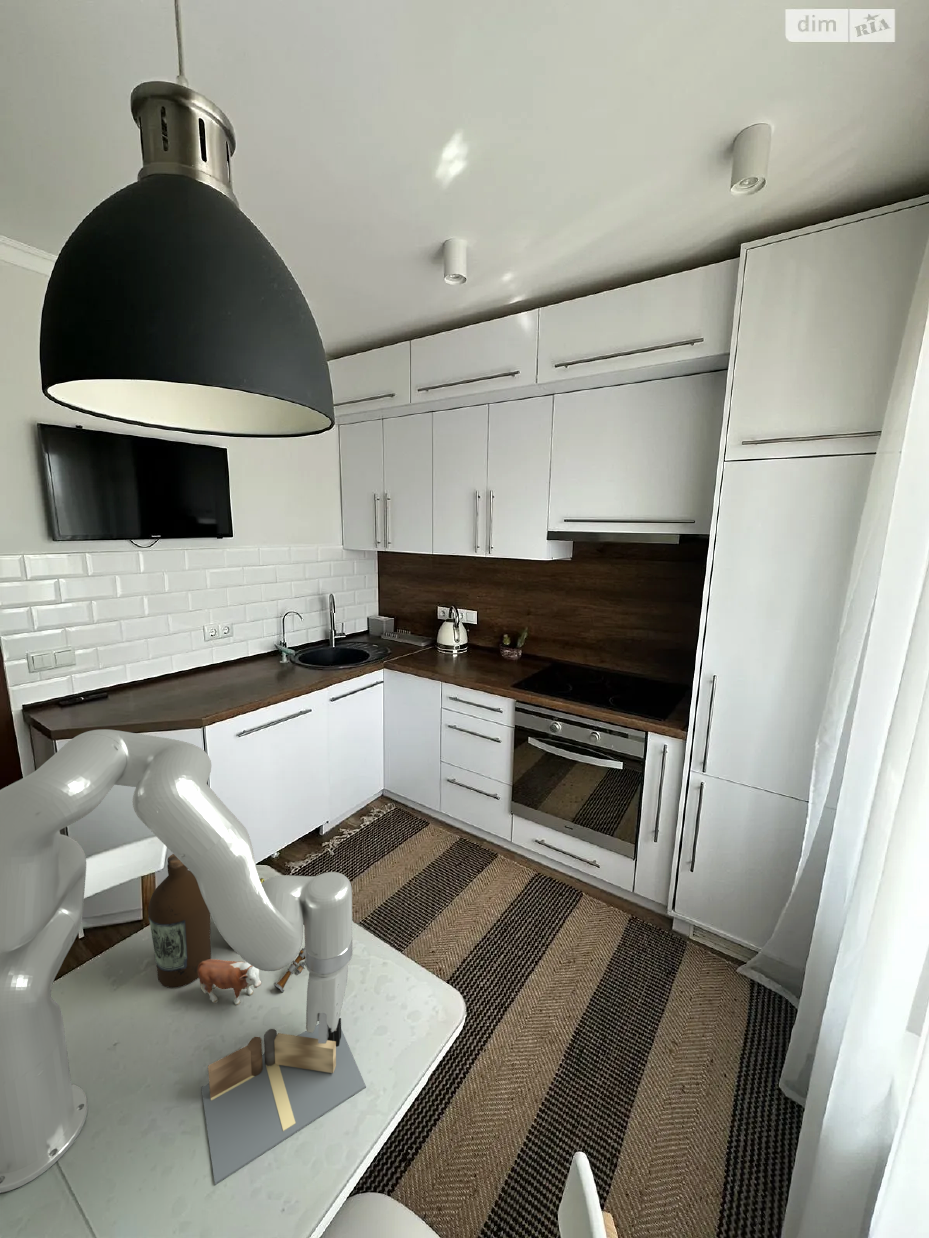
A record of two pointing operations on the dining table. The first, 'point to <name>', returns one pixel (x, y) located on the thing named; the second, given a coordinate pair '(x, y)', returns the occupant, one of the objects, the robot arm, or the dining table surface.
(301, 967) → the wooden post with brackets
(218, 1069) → the fence section
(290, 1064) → the tan wooden board
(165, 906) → the olive oil
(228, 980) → the bull figurine
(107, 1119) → the dining table surface
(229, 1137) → the card
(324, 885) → the robot arm
